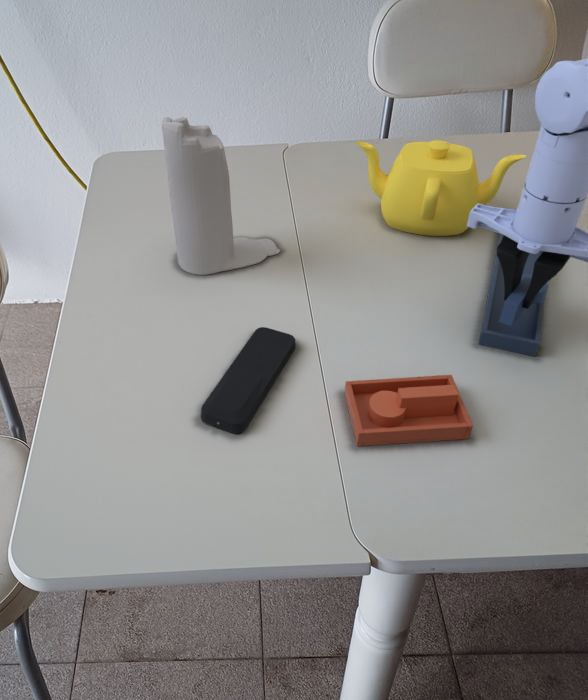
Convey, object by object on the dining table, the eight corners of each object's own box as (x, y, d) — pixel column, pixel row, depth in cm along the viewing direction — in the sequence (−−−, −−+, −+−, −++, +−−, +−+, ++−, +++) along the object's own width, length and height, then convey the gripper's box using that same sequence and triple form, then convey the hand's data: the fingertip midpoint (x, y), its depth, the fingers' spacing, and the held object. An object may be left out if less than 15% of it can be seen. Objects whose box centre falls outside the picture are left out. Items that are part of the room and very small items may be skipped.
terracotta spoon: (445, 397, 66) (451, 376, 64) (456, 423, 64) (462, 402, 62) (364, 402, 66) (367, 381, 64) (371, 429, 64) (375, 408, 62)
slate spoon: (521, 330, 70) (528, 309, 68) (489, 317, 72) (495, 296, 70) (549, 292, 75) (556, 271, 73) (518, 281, 76) (525, 260, 74)
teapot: (340, 240, 89) (346, 167, 82) (355, 186, 100) (362, 117, 93) (508, 260, 84) (531, 184, 77) (505, 200, 95) (524, 129, 88)
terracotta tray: (448, 387, 68) (451, 374, 67) (469, 438, 63) (473, 426, 61) (344, 393, 68) (345, 381, 66) (356, 446, 63) (358, 433, 61)
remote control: (259, 336, 76) (197, 421, 66) (259, 324, 75) (196, 408, 64) (298, 347, 74) (241, 436, 64) (298, 335, 73) (240, 424, 63)
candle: (285, 259, 86) (288, 111, 73) (184, 279, 84) (167, 130, 70) (268, 231, 91) (268, 89, 78) (173, 250, 89) (155, 106, 75)
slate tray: (535, 356, 71) (539, 343, 70) (478, 344, 73) (482, 331, 71) (546, 238, 88) (550, 226, 86) (500, 230, 89) (503, 218, 88)
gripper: (466, 184, 63) (441, 294, 73) (623, 231, 56) (574, 345, 66) (495, 157, 67) (468, 264, 77) (645, 197, 60) (596, 310, 70)
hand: (518, 300), depth 71 cm, fingers closed on slate spoon
